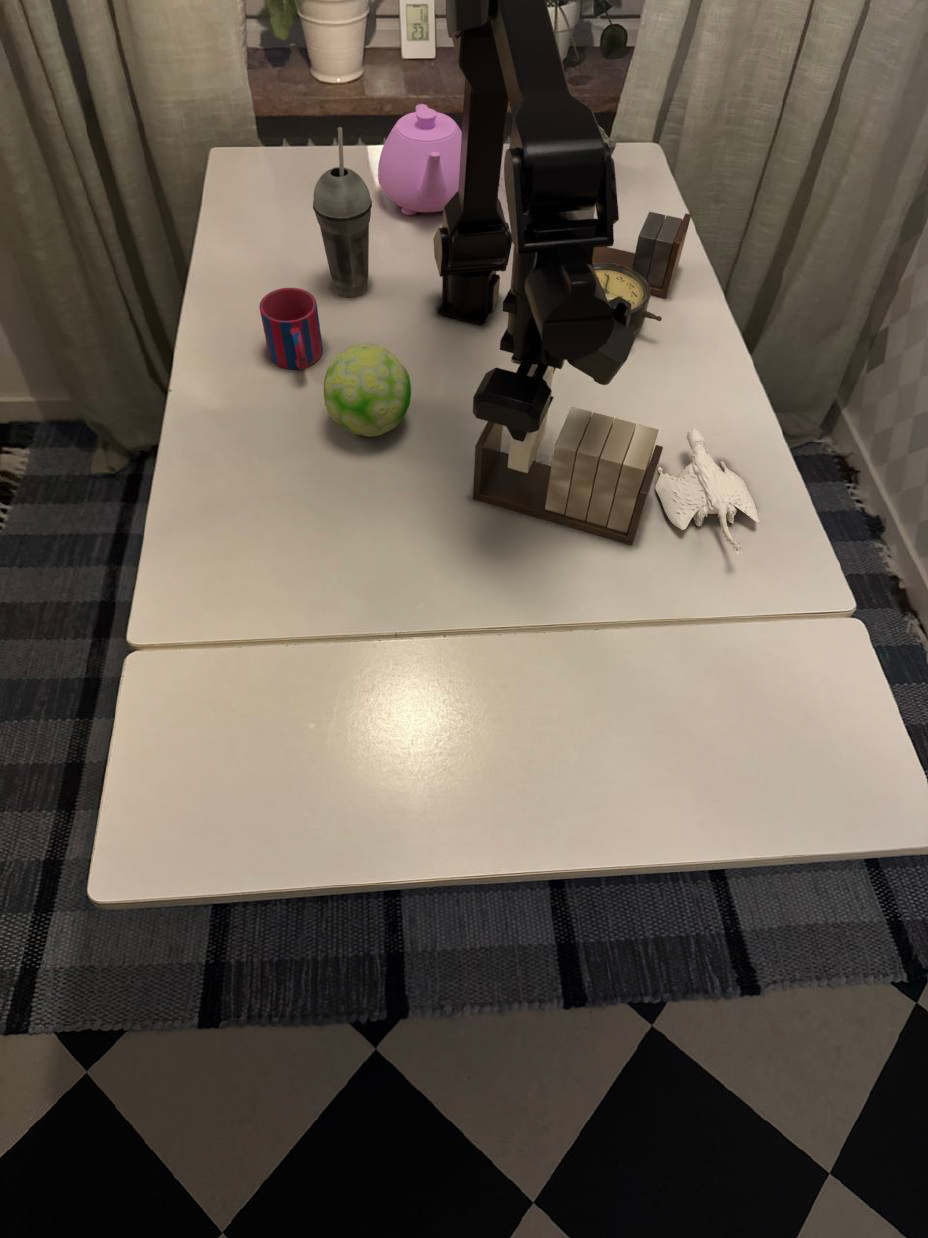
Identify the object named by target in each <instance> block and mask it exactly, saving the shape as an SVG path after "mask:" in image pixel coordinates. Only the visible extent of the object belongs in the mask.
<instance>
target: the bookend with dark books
mask: <svg viewBox="0 0 928 1238" xmlns="http://www.w3.org/2000/svg"><path fill="white" fill-rule="evenodd" d="M572 212H573V213H574V214H575V216H576V217H577V219H578V220H581V219H593V218H595V212H596V205H594V207H593V208H592V209H591V210H580V211H572ZM691 217H692V214H690V213H687V212H686V213H684V216H683V218H681V217H677V216H672V215H666V214H662V213H658V212H653V211H649V212H648V214H647V216H646V218H645V220H644V223H643V224H642V227H641V230H640V232H639V233H638V237H637V242H636V246H635V252H631V251H628V250H622V249H619V248H615V247H611V246H608V247H597V248H594V251H593V257H592V263H613V264H619V265H622V266H625V267H628V268H630V269H632V270H634V271H636V272H637V273H639V274H640V275H641V276H642V277H643V278H644V279H645V280H646V281H647V283H648V284H649V287H650V290H651V295H650V296H654V297H658V298H662V299H663V298H664V299H667V297H668V295H669V292H670V289H671V288H672V284H673V282H674V280H675V278H676V277H675V276H676V274H677V271H678V268H679V265H680V260H681V257H682V252H683V248H684V245H685V241H686V237H687V233H688V229H689V225H690V221H691Z"/></svg>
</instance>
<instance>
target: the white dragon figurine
mask: <svg viewBox="0 0 928 1238" xmlns="http://www.w3.org/2000/svg"><path fill="white" fill-rule="evenodd" d="M686 439H687V442H688V445H689V447H690V449H691V450H692V458H691V462H689V463H688V465H686V466H685V469H682V474H680V475H679V476H677V477H676V476H675V474H674V473H672V474H669V473H668V472H665V473H663V471H664V470H663V468H662V467H661V466H658V467H657V472H658V474H659V477H658V479H657V481H656V484H655V491H656V493H657V495H658V497H659V499H660V502H661V505H662V507H663V510H664V513H665V515H666V516H667V518H668V520H669V521H670V522H671V523H672V524H673V525H674V526H675V527H677V528H678V529H680V530H681V531H683V530H686V529H687V528H688V525H689V524H690V523H691V520H692V518H693V521H694V523H695V525H696V526H698V527H701V526H703V523H704V518H705V517H708V515H709V514H710V515H715V514H717V519H719V520H718V521H719V524H720V529H721V534H722V535H723V538H725V539H724V542H726V543H729V545H730V546H732V551H734V550H735V551H736V554H737V555H739V551H740V552H742V546H741V544H740V543H737V542H736V541H735V540H734V539H733V537H732V535H731V533H730V531H729V528H728V523H730V524H734V522H735V515H736V513H738V510H740V511H741V512H743V513H744V514H745V515H747V516H748V517H749V518H750V519H752V520H753V521H754V522H756V523H760V519H759V516H758V510H757V507H756V506H757V505H756V503H755V501H754V499H753V497H752V495H751V493H750V491H749V488H747V485H746V483H745V481H744V480H743V478H741V477H740V476H739V475H737V474H736V473H735V472H733V471H731V470H730V469H729V468H728V467H727V465H726V462H725V461H724V460H722V461H720V462H719V463H720V466H718V464H717V463H715V461H714V460H713V458H712V457H713V456H711V455H710V454H709V453H707V450H706V447H705V445H706V442H705V438H704V436H703V435H702V434H701V433H700V431H699V430H698V429H695V428H693V429H689V430H688V431H687V433H686ZM722 468H723V470H722ZM727 522H728V523H727Z"/></svg>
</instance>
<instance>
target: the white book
mask: <svg viewBox="0 0 928 1238" xmlns="http://www.w3.org/2000/svg"><path fill="white" fill-rule="evenodd" d="M536 367H537V366H536ZM534 371H535V370H534ZM553 372H554V373H555V371H554V367H550V366H549V368H548V370H547V372H546V374H545V376H544V378H543V379H544V380H545V381H546V382H547V385H548V386H549V388H550V389H551V390H552V386H553V385H552V384H553V377H554V374H553ZM533 373H534V372H533ZM532 375H533V374H532ZM548 413H549V410H548V411H547V413H546V415H545V417H544V420H543V422H542V424H541V426H540V428H539V431H536V432H532V433H528V432H527V435H526V437H525V440H524V441H523V442H521V441H518V440H514V439H513V438H512V436H511V435H510V436H509V447H508V454H509V458H508V468H511V469H514V470H518V471H521V472H525V473H528V471H529V469H530V467H531V465H532V462H533V461H535V457H536V456H537V453H538V451H539V449H540V447H541V444H542V442H543V440H544V438H545V435H546V429H547V423H548V422H547V421H548V415H549V414H548Z"/></svg>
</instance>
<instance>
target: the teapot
mask: <svg viewBox="0 0 928 1238" xmlns="http://www.w3.org/2000/svg"><path fill="white" fill-rule="evenodd" d="M461 138H462V129H461V127H459V125H458V124H457V122H456V121H455V120H454V119H453V118H452V117H451V116H449V115H447V114H445V113H442V112H439V111H436V110H435V109H433V108H429V106H428V105H427V104H425V103H419V104H416V106H415V111H414V112H410V113H406V114H405V115H403V116H402V117H400V118H399V119H398V120H397V121H396V123H395V124H394V126H393V127H392V129H391V130H390V132H389V133H388V136H387V137H386V140H385V142H384V144H383V146H382V149H381V152H380V156H379V161H378V166H377V180H378V184H379V187H380V188H381V190H382V191H383V193H384V194H385V195H386V196H387V197H388V198H389V199H390V200H391V201H392V202H393V203H394V204H396V205H397V206H399V207H400V208H401V213H402V214H404V215H408V216H413V215H415V214H417V213H418V212H419V213H438V212H443V210H444V206H445V205H446V204H447V203H448V202H449V201H450V199H451V198H452V197H453V196H454V195H455V193H456V192H457V191H458V187H459V171H460V154H461Z"/></svg>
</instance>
